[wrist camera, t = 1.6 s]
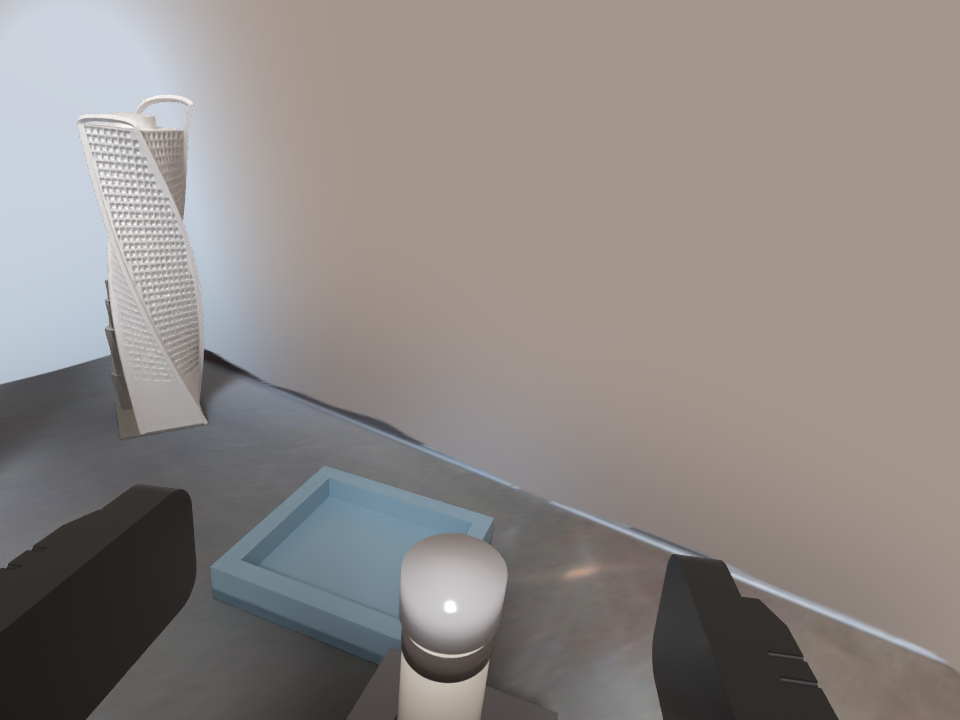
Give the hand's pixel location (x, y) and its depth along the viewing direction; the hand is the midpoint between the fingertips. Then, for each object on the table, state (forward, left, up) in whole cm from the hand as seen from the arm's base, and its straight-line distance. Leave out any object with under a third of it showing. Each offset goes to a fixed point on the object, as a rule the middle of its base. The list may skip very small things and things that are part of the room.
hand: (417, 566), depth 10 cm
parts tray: (-12, +20, -22) cm, 32 cm away
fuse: (-2, +8, -22) cm, 24 cm away
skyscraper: (-38, +29, -23) cm, 53 cm away
